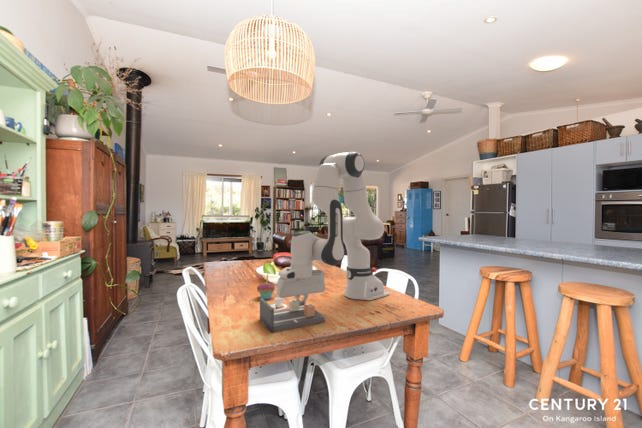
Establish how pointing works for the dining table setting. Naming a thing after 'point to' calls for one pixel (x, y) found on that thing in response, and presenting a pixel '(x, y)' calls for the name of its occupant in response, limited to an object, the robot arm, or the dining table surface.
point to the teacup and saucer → (278, 303)
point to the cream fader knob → (294, 305)
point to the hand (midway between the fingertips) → (301, 305)
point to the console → (286, 318)
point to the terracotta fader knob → (309, 310)
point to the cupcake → (266, 289)
